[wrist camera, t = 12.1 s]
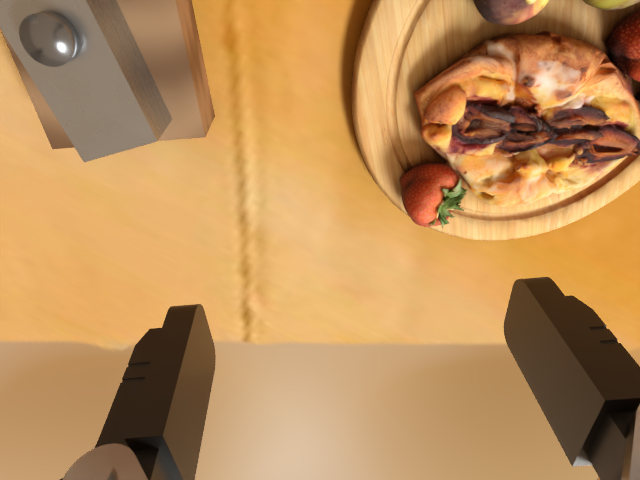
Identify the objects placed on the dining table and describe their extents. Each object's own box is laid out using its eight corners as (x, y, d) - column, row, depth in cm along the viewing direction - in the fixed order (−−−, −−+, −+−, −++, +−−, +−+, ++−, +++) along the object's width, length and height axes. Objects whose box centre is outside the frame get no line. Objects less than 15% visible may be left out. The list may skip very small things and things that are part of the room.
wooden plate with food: (426, 275, 50) (449, 326, 44) (278, 3, 34) (278, 19, 27) (723, 139, 43) (806, 175, 37) (720, -288, 27) (871, -367, 20)
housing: (172, 119, 33) (152, 148, 29) (106, 138, 34) (76, 169, 29) (102, -29, 28) (64, -24, 23) (25, -3, 28) (-28, 7, 24)
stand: (16, -34, 32) (-26, -31, 27) (182, -47, 32) (165, -45, 28) (78, 126, 38) (52, 148, 34) (214, 116, 38) (205, 137, 34)
